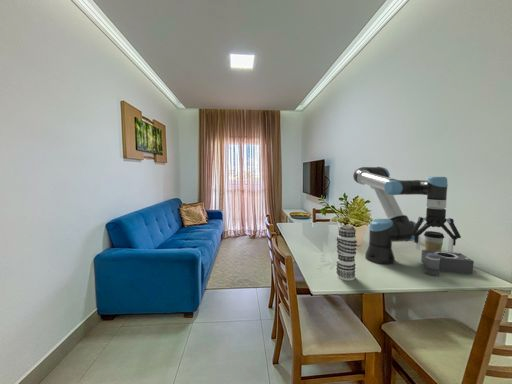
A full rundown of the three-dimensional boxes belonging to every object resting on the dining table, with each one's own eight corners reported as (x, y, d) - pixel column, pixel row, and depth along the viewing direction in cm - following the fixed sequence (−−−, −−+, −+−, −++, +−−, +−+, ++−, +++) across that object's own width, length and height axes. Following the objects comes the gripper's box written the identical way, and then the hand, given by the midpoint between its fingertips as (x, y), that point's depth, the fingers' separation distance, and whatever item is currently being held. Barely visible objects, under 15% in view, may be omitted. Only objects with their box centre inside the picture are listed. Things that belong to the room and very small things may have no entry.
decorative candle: (332, 276, 113) (333, 226, 111) (340, 270, 119) (342, 223, 117) (350, 282, 106) (352, 229, 104) (358, 276, 113) (360, 226, 111)
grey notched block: (430, 270, 120) (430, 256, 120) (421, 261, 132) (422, 248, 131) (472, 274, 115) (473, 259, 114) (459, 265, 126) (460, 252, 126)
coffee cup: (446, 261, 133) (448, 235, 132) (427, 259, 135) (429, 234, 134) (437, 255, 143) (438, 231, 141) (419, 253, 144) (420, 230, 143)
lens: (427, 275, 114) (428, 255, 113) (422, 270, 119) (424, 251, 119) (441, 277, 112) (442, 256, 111) (436, 272, 118) (437, 253, 117)
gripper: (409, 208, 113) (407, 250, 115) (472, 210, 106) (469, 255, 107) (404, 206, 120) (402, 245, 122) (463, 208, 113) (460, 250, 114)
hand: (433, 250), depth 115 cm, fingers open, 13 cm apart
